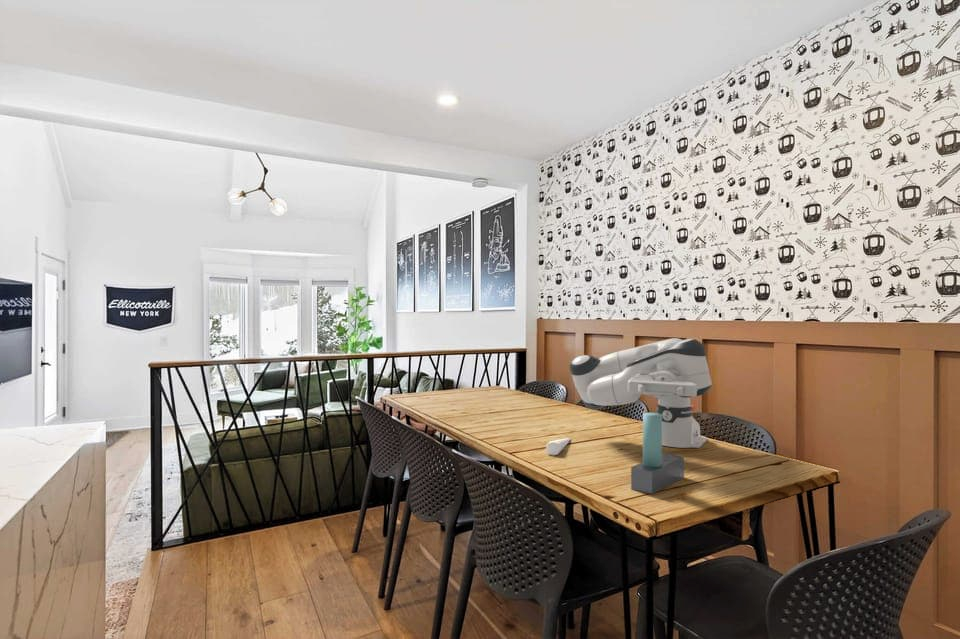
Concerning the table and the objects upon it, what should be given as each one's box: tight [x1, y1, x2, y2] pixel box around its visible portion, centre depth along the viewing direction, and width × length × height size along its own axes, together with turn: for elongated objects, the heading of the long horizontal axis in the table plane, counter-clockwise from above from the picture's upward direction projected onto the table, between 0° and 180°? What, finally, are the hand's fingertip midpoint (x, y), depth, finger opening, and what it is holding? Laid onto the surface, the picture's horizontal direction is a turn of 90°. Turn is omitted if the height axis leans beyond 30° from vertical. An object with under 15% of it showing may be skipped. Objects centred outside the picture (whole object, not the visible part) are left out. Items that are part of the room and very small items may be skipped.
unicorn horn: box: [545, 437, 571, 456], centre depth 177 cm, size 5×24×5 cm, turn 152°
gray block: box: [630, 452, 685, 495], centre depth 138 cm, size 20×6×6 cm, turn 134°
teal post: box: [642, 412, 663, 468], centre depth 135 cm, size 5×5×14 cm
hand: (659, 390), depth 146 cm, fingers open, 8 cm apart
